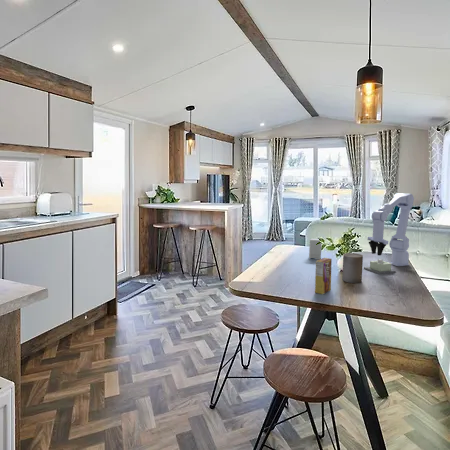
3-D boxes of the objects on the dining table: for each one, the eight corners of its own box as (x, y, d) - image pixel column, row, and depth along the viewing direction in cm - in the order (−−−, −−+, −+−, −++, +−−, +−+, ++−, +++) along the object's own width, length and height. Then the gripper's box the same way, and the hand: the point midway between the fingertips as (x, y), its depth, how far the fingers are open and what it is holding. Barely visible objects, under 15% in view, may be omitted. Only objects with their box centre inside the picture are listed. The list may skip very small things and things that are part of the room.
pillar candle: (361, 279, 192) (362, 251, 190) (361, 284, 183) (363, 254, 181) (342, 277, 195) (343, 250, 193) (341, 282, 186) (342, 253, 184)
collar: (380, 266, 215) (380, 260, 214) (391, 270, 207) (391, 263, 207) (369, 268, 212) (370, 261, 211) (380, 271, 204) (380, 264, 204)
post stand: (380, 267, 217) (381, 256, 216) (395, 272, 206) (396, 261, 205) (363, 268, 213) (364, 258, 213) (378, 274, 202) (379, 262, 201)
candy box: (322, 288, 175) (324, 257, 173) (331, 290, 173) (332, 258, 171) (314, 292, 169) (315, 260, 167) (322, 294, 166) (324, 262, 164)
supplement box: (320, 259, 236) (321, 240, 234) (309, 259, 238) (310, 239, 236) (320, 257, 243) (321, 238, 242) (308, 256, 245) (309, 238, 243)
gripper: (363, 229, 215) (362, 252, 217) (381, 233, 202) (380, 257, 204) (373, 229, 218) (372, 251, 219) (391, 233, 204) (390, 256, 206)
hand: (376, 254), depth 212 cm, fingers open, 4 cm apart
